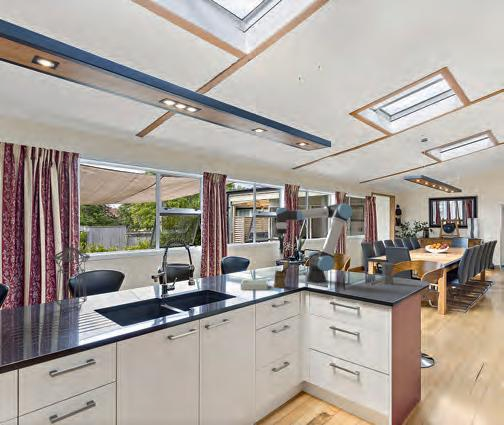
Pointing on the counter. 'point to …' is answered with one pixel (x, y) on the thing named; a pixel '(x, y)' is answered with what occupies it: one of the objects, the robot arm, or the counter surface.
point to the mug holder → (254, 285)
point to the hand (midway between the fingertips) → (281, 257)
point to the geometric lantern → (70, 272)
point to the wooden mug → (281, 277)
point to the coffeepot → (386, 272)
